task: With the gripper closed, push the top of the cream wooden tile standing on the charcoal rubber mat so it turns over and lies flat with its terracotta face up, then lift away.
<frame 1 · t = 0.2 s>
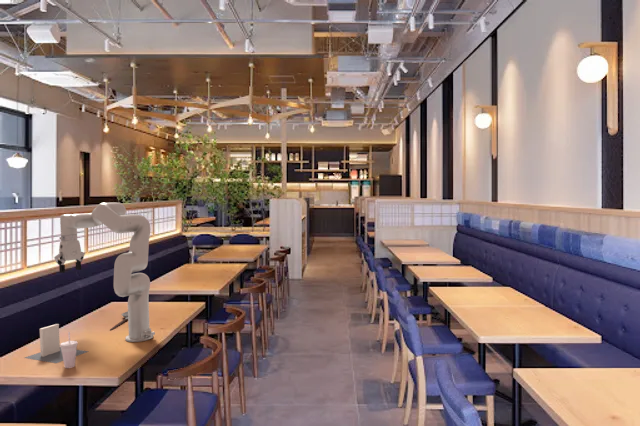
hand: (70, 271, 250), 31 cm above the table, fingers open, 9 cm apart
spoon: (123, 323, 266), on the table
mat: (56, 355, 211), on the table
tile: (50, 353, 212), resting on mat
smoothie: (69, 367, 196), on the table
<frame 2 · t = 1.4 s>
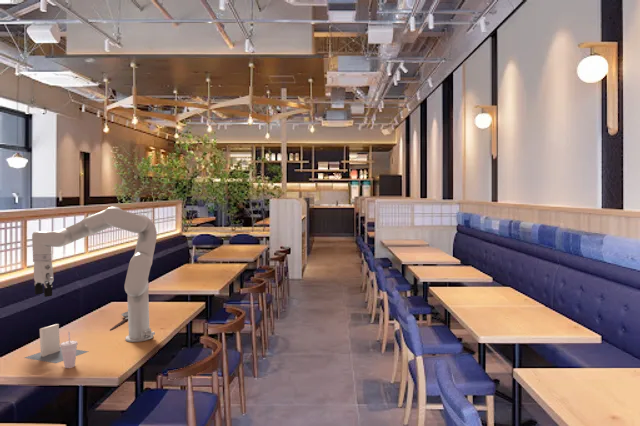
hand: (43, 295, 222), 24 cm above the table, fingers open, 9 cm apart
nothing on the table moved.
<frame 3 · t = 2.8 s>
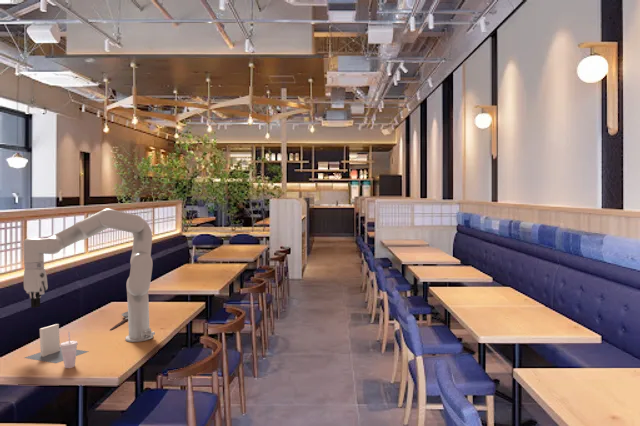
hand: (35, 306, 215), 21 cm above the table, fingers closed
nothing on the table moved.
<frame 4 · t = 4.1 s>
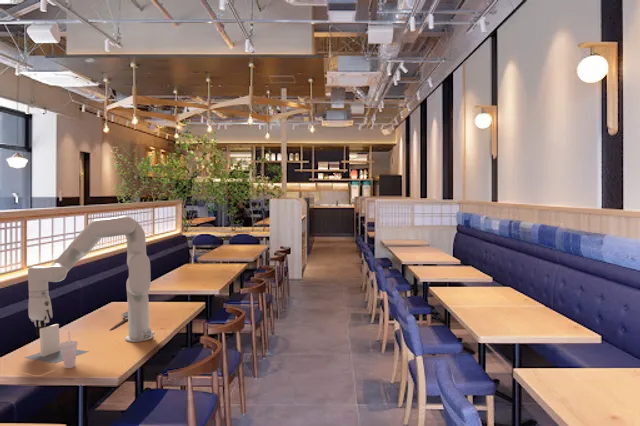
hand: (40, 334, 214), 8 cm above the table, fingers closed
nothing on the table moved.
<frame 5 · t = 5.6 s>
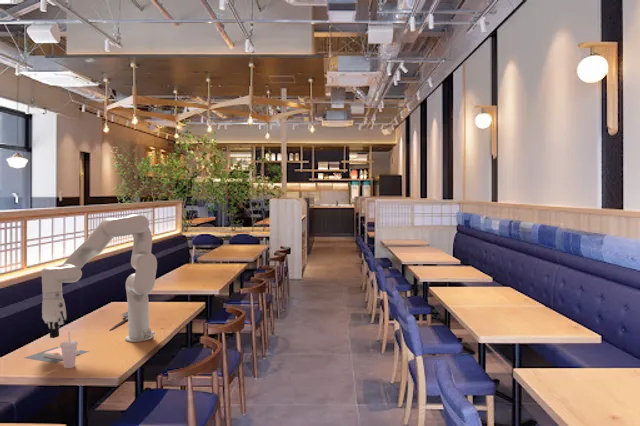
hand: (54, 337, 211), 8 cm above the table, fingers closed
tile: (52, 352, 212), point 1 cm above the table, tilted 90°, touching mat
everything else where it was.
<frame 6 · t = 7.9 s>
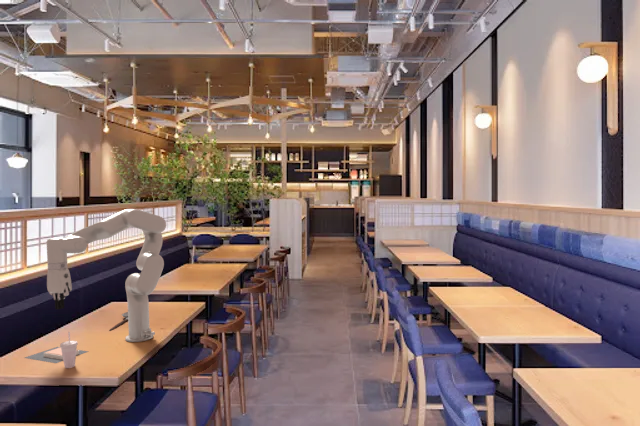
hand: (59, 308, 209), 21 cm above the table, fingers closed
nothing on the table moved.
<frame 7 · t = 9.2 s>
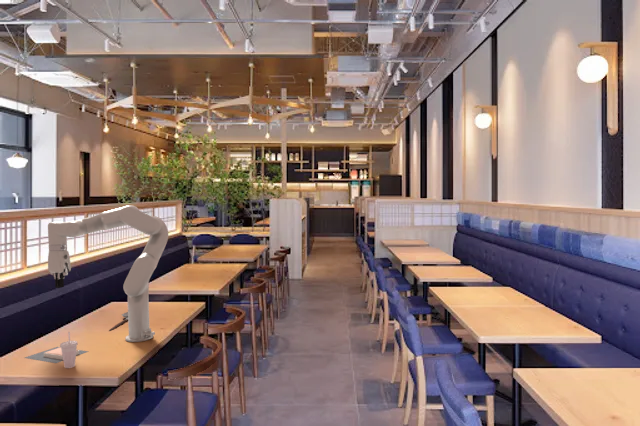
hand: (59, 287, 225), 27 cm above the table, fingers closed
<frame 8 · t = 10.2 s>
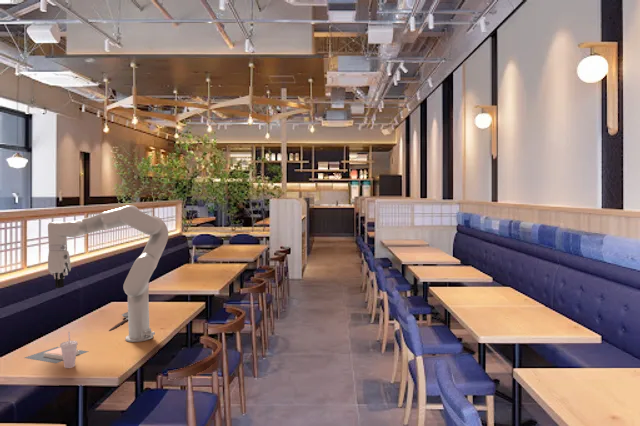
hand: (59, 287, 225), 27 cm above the table, fingers closed
at the end: tile tilted 90°; tile inside the target area (0.4 cm from its centre), point 1.2 cm above the table; the gripper is holding nothing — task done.
